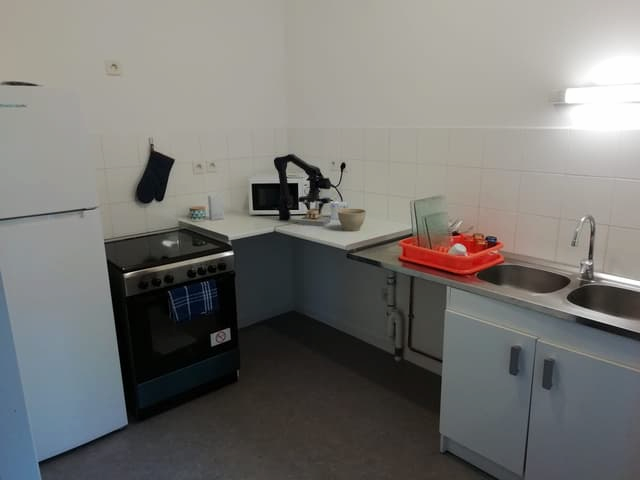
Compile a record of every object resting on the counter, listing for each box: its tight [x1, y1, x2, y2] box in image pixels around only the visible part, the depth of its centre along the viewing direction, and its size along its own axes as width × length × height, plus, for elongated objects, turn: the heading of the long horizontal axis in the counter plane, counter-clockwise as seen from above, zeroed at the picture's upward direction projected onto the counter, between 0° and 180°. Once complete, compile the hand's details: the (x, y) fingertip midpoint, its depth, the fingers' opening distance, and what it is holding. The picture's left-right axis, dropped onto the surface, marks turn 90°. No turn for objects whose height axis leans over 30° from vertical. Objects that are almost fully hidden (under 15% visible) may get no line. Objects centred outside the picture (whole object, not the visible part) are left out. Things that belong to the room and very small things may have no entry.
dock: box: [298, 215, 331, 227], centre depth 303 cm, size 16×13×3 cm
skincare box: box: [207, 193, 225, 222], centre depth 315 cm, size 8×7×16 cm
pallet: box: [306, 207, 323, 218], centre depth 302 cm, size 6×10×4 cm, turn 161°
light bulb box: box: [330, 200, 348, 220], centre depth 317 cm, size 11×7×11 cm, turn 84°
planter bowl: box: [338, 208, 367, 232], centre depth 286 cm, size 16×16×11 cm
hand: (314, 213), depth 302 cm, fingers closed on pallet, 6 cm apart
